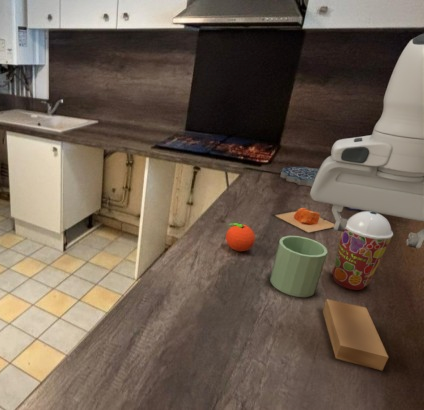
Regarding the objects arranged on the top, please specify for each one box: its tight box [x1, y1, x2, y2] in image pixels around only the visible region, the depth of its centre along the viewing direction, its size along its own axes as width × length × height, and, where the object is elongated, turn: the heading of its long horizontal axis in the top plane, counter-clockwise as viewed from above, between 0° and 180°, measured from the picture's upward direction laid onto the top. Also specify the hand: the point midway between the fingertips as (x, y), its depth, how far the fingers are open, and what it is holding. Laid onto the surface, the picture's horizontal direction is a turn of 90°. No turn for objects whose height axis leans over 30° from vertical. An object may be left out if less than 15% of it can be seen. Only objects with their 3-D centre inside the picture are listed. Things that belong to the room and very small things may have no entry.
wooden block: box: [322, 298, 389, 372], centre depth 64 cm, size 6×13×3 cm, turn 157°
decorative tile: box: [279, 165, 320, 188], centre depth 143 cm, size 20×20×2 cm
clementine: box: [224, 222, 256, 252], centre depth 93 cm, size 8×7×7 cm
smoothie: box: [331, 211, 394, 291], centre depth 76 cm, size 8×8×20 cm
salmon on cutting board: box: [274, 207, 335, 233], centre depth 108 cm, size 12×12×4 cm
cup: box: [269, 235, 329, 298], centre depth 78 cm, size 9×9×10 cm
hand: (374, 237), depth 57 cm, fingers open, 8 cm apart
